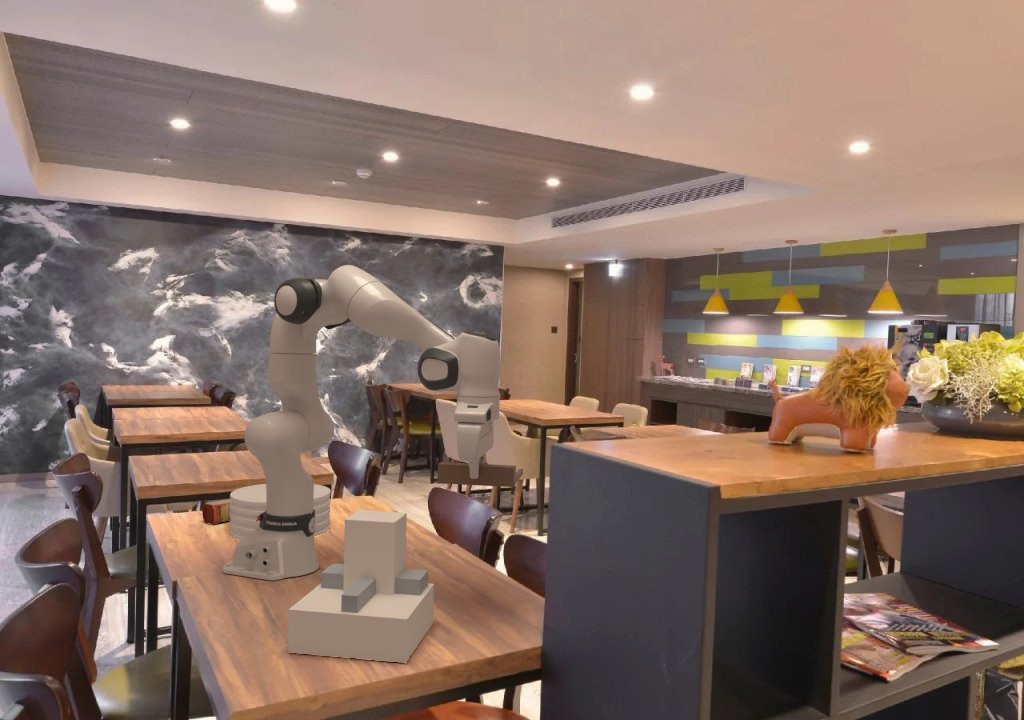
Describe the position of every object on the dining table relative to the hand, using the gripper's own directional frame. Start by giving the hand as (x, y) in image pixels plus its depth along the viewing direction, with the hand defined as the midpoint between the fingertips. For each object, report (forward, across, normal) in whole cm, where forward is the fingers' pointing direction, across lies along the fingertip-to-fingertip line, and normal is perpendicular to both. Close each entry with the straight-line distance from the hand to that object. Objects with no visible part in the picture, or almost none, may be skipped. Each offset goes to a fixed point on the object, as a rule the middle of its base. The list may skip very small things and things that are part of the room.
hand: (476, 476), depth 152 cm
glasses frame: (+2, -6, 0) cm, 7 cm away
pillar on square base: (+29, +16, -18) cm, 38 cm away
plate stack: (+30, -53, -68) cm, 91 cm away
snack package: (+30, -63, -87) cm, 112 cm away
